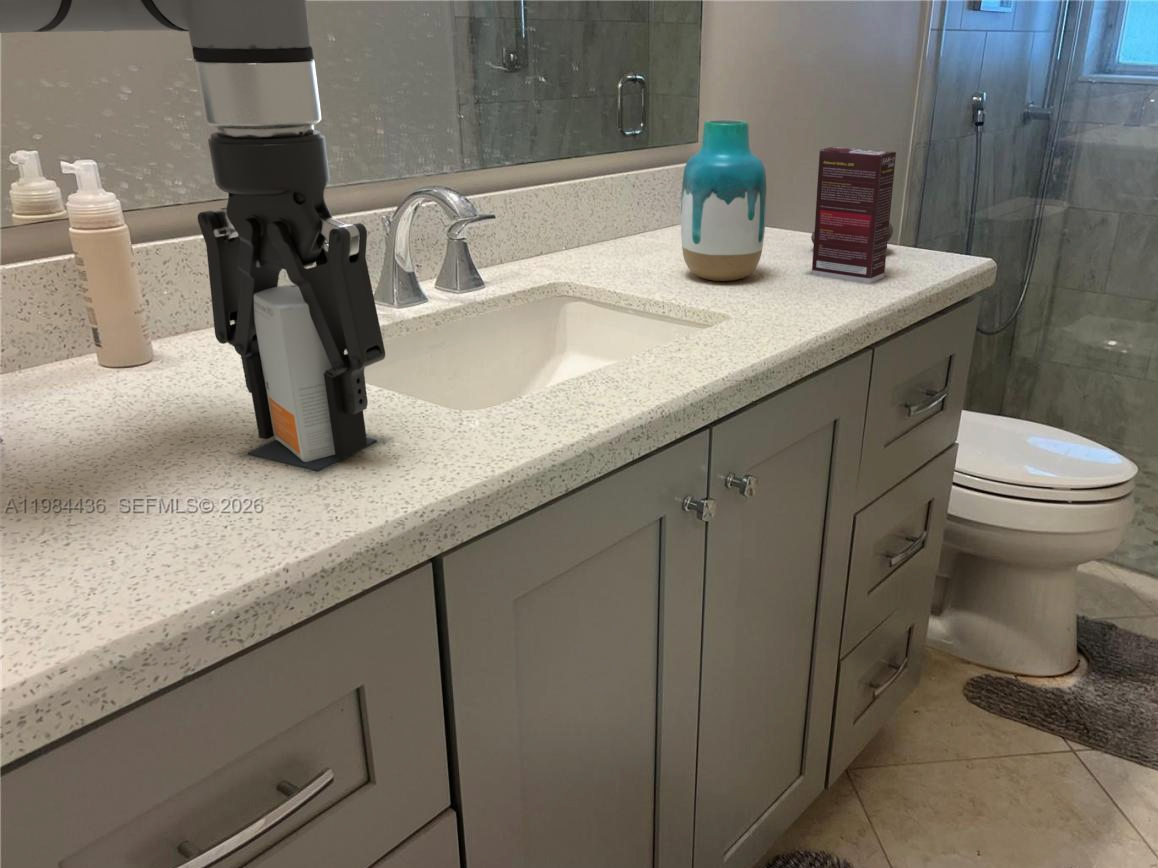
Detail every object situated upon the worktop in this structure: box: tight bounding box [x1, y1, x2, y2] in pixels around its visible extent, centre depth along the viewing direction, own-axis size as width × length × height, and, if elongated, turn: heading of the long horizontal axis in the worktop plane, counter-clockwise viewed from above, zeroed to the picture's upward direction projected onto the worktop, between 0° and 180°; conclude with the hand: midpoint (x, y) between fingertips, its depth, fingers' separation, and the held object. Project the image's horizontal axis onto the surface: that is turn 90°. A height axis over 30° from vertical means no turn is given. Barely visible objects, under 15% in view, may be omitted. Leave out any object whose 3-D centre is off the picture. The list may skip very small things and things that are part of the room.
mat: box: [247, 437, 378, 473], centre depth 81 cm, size 7×7×1 cm
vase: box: [680, 118, 767, 282], centre depth 129 cm, size 11×11×19 cm
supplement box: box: [811, 146, 897, 284], centre depth 132 cm, size 9×5×16 cm, turn 56°
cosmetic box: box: [254, 283, 335, 462], centre depth 78 cm, size 6×4×12 cm
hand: (313, 441), depth 81 cm, fingers closed on cosmetic box, 7 cm apart
